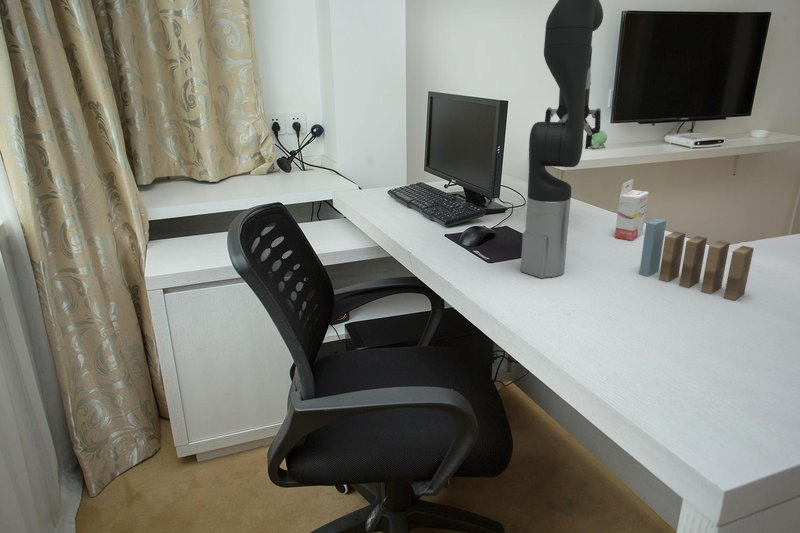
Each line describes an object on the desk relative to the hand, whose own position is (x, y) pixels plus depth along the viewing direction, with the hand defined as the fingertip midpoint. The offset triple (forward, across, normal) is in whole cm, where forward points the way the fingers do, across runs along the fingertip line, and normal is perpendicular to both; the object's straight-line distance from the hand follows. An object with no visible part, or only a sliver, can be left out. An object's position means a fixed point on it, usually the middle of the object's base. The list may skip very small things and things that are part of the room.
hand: (570, 147), depth 156 cm
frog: (+43, 0, +140) cm, 146 cm away
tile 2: (+17, +34, -39) cm, 55 cm away
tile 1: (+17, +38, -42) cm, 59 cm away
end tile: (+18, +22, -33) cm, 43 cm away
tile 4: (+18, +26, -35) cm, 47 cm away
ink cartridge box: (+22, +17, -6) cm, 29 cm away
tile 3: (+18, +30, -37) cm, 51 cm away
